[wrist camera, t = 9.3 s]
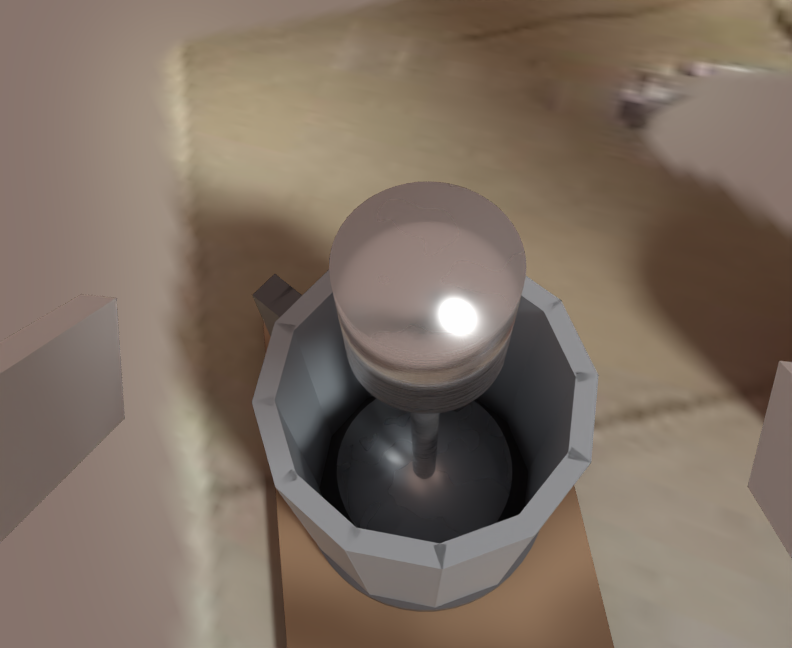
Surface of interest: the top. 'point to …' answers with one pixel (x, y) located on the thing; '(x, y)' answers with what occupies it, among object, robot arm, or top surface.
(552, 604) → the serving board
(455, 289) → the plunger
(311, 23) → the top surface
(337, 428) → the grey cup
